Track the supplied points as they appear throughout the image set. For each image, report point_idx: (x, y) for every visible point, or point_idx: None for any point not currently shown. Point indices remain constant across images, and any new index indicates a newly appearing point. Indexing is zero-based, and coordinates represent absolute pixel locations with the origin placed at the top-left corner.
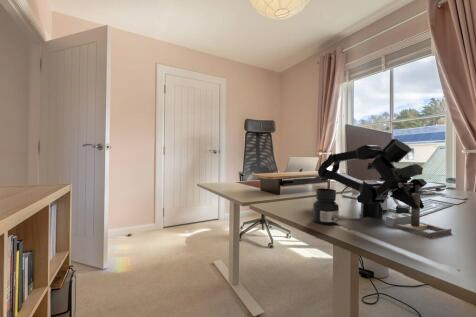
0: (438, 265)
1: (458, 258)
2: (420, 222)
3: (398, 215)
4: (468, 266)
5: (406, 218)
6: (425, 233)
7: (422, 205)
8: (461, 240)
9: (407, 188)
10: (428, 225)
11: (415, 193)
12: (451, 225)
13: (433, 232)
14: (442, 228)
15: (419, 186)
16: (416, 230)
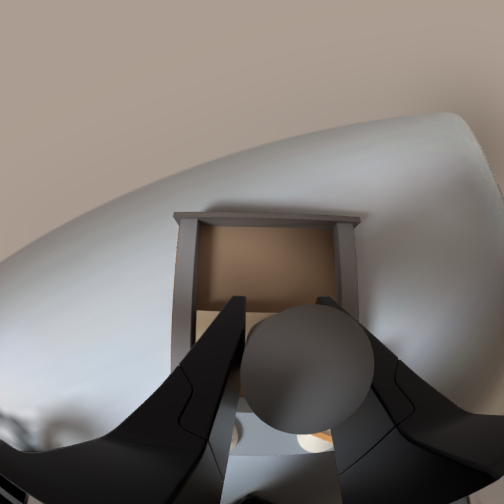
0: (453, 153)
1: (384, 139)
2: (176, 357)
3: (271, 443)
4: (401, 120)
5: (240, 408)
6: (353, 238)
7: (245, 304)
8: (193, 191)
9: (476, 446)
10: (191, 308)
11: (269, 405)
12: (23, 304)
13: (326, 217)
14: (189, 242)
15: (10, 447)
16: (356, 279)
